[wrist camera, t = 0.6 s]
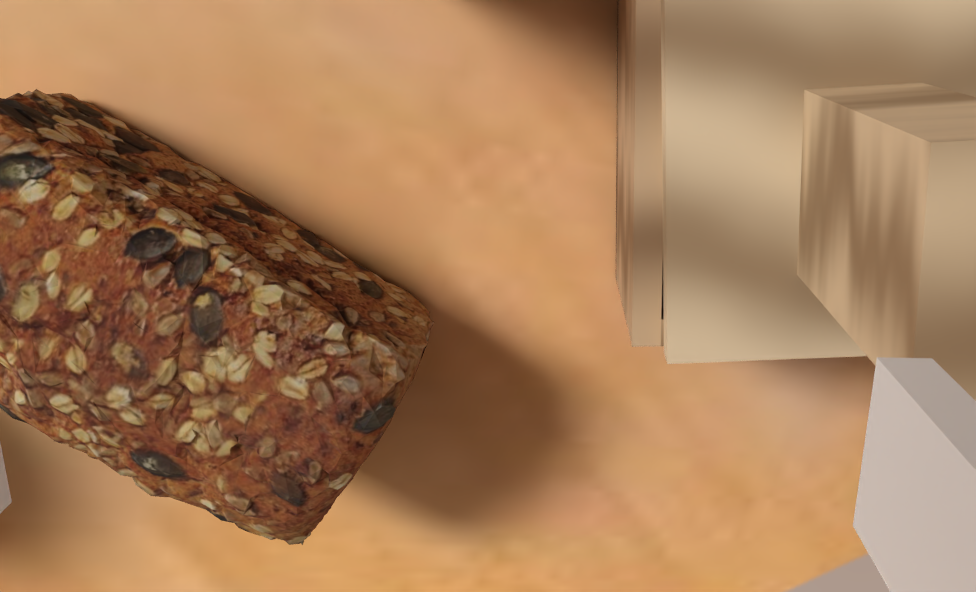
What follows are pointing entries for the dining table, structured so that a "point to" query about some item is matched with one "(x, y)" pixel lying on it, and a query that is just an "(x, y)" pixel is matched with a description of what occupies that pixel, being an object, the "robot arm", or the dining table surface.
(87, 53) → the dining table surface
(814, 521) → the dining table surface
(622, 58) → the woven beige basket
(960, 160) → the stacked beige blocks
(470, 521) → the dining table surface
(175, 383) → the bread
